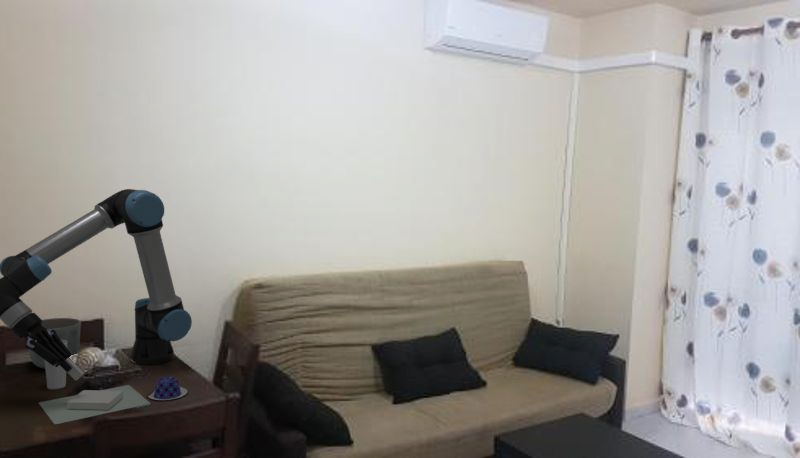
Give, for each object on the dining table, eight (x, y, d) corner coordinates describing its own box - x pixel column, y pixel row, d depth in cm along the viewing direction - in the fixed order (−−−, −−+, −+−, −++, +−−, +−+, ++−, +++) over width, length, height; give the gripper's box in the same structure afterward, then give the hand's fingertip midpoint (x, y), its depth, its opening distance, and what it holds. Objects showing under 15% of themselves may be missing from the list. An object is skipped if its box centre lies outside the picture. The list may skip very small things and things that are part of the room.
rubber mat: (128, 386, 204) (128, 384, 204) (150, 405, 189) (150, 403, 189) (38, 404, 187) (38, 402, 187) (54, 426, 172) (54, 424, 172)
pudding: (172, 404, 191) (172, 387, 191) (138, 399, 194) (138, 383, 194) (194, 391, 203) (194, 375, 203) (162, 387, 206) (162, 371, 205)
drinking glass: (39, 389, 200) (38, 343, 198) (59, 383, 206) (58, 338, 204) (53, 393, 197) (52, 346, 195) (73, 386, 203) (72, 341, 201)
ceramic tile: (66, 402, 182) (108, 403, 183) (83, 390, 192) (122, 391, 193) (67, 409, 183) (108, 410, 183) (83, 397, 193) (123, 398, 193)
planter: (69, 355, 235) (68, 315, 234) (90, 365, 224) (89, 323, 223) (19, 365, 222) (18, 323, 221) (39, 376, 211) (38, 332, 210)
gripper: (26, 323, 192) (82, 378, 194) (-1, 334, 179) (60, 393, 181) (43, 307, 191) (99, 361, 193) (17, 317, 178) (78, 375, 180)
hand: (80, 376), depth 187 cm, fingers closed
